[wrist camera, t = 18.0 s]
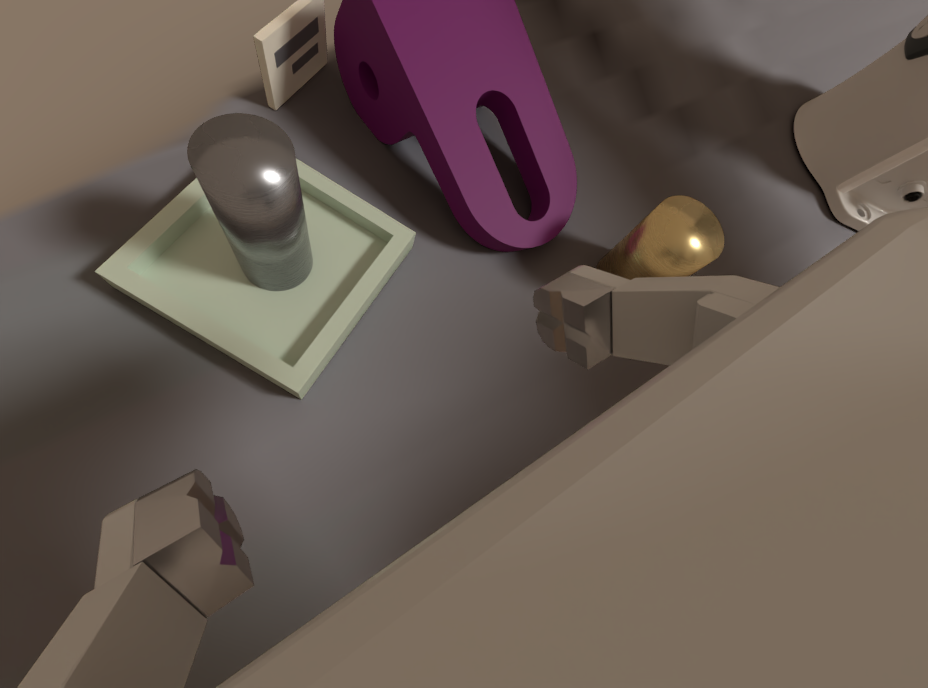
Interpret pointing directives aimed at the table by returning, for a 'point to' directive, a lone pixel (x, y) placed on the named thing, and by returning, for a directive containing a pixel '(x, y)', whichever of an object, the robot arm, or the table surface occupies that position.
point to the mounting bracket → (461, 106)
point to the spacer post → (255, 196)
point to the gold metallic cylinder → (668, 242)
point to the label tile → (291, 50)
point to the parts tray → (255, 309)
